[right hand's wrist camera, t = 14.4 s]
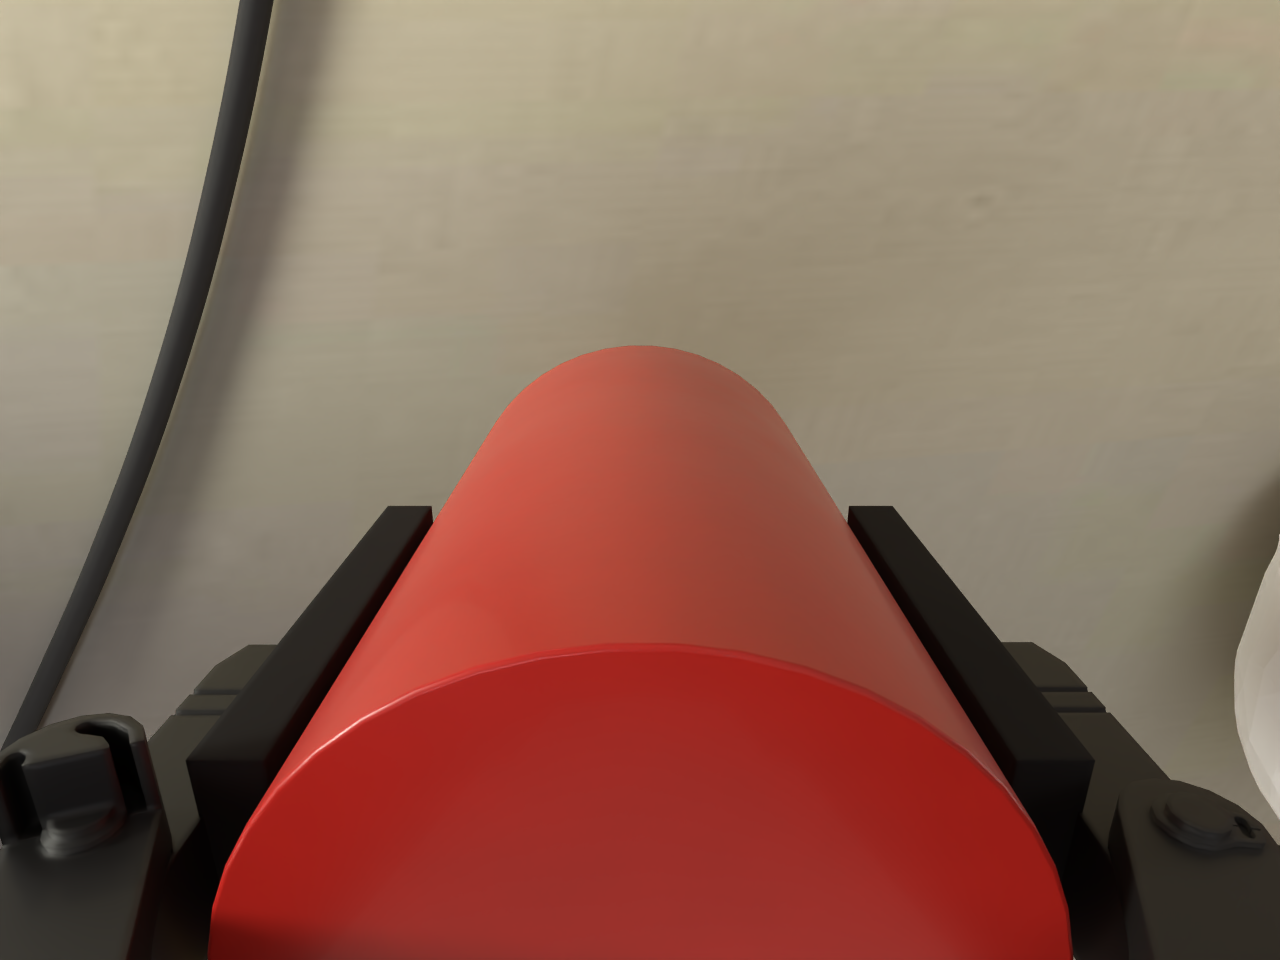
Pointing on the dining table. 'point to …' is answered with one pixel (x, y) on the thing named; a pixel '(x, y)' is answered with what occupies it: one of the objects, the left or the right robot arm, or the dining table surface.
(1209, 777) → the dining table surface
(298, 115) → the dining table surface
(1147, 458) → the dining table surface
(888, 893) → the cylinder
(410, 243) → the dining table surface
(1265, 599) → the skull
